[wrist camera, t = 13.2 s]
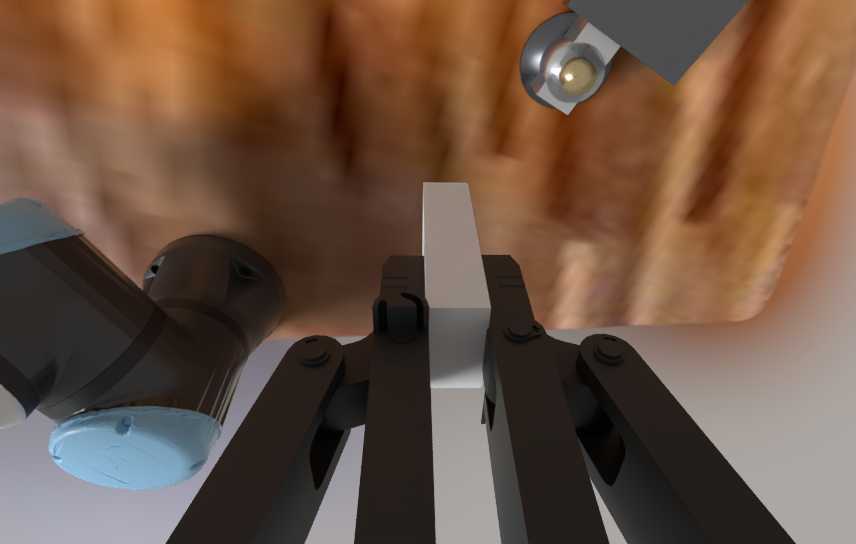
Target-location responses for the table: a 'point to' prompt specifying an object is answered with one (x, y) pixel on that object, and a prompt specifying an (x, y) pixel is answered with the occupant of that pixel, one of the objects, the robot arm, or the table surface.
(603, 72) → the link
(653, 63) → the keeper bracket
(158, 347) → the robot arm
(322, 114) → the table surface
